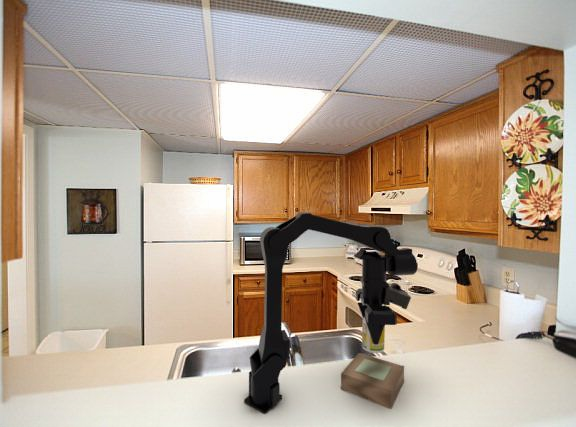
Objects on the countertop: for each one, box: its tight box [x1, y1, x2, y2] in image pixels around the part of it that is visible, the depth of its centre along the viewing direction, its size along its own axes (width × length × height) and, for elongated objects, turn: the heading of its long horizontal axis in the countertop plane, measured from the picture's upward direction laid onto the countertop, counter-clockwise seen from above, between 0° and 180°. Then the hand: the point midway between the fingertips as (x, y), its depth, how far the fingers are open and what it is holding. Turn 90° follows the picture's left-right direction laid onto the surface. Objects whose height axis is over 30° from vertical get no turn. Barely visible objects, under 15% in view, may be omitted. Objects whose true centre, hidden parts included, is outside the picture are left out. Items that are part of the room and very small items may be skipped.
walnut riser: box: [340, 352, 405, 409], centre depth 72 cm, size 12×12×4 cm
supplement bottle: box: [361, 317, 386, 354], centre depth 71 cm, size 5×5×10 cm
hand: (373, 338), depth 71 cm, fingers closed on supplement bottle, 5 cm apart
